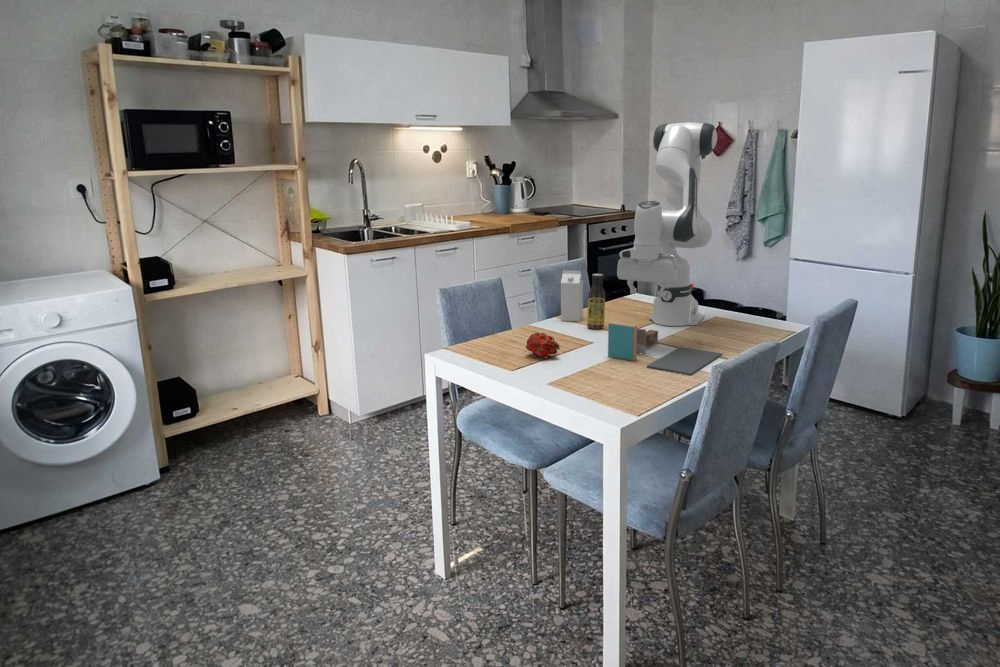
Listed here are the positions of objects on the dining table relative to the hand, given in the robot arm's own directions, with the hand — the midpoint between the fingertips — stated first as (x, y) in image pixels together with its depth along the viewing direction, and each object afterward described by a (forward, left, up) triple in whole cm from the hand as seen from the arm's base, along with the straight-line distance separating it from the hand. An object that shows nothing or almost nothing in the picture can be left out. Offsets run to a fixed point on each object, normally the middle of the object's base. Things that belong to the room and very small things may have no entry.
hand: (646, 295), depth 229 cm
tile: (+16, 0, -17) cm, 23 cm away
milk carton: (-18, -40, -18) cm, 48 cm away
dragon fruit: (+28, -22, -18) cm, 40 cm away
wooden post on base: (+1, 0, -17) cm, 17 cm away
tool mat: (+9, +18, -17) cm, 26 cm away
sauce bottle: (-12, -26, -17) cm, 34 cm away
